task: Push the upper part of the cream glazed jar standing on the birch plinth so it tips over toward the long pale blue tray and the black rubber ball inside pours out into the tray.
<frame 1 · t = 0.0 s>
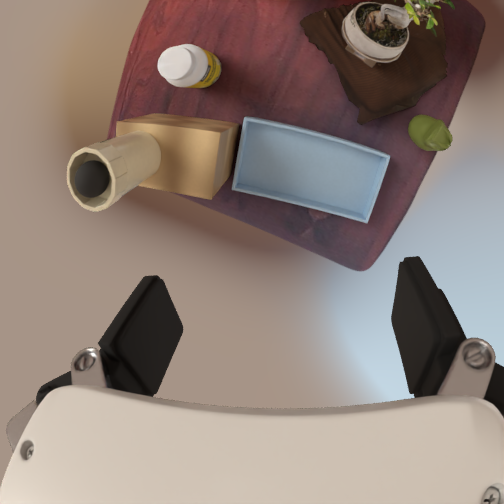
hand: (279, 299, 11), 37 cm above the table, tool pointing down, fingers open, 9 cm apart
potted plant: (382, 48, 31), on the table
pill bottle: (203, 69, 38), on the table
tray: (310, 166, 44), on the table
jar: (138, 155, 34), point 12 cm above the table, touching ball, plinth
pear: (417, 129, 37), on the table
plinth: (192, 142, 44), on the table
ball: (91, 179, 25), point 22 cm above the table, touching jar
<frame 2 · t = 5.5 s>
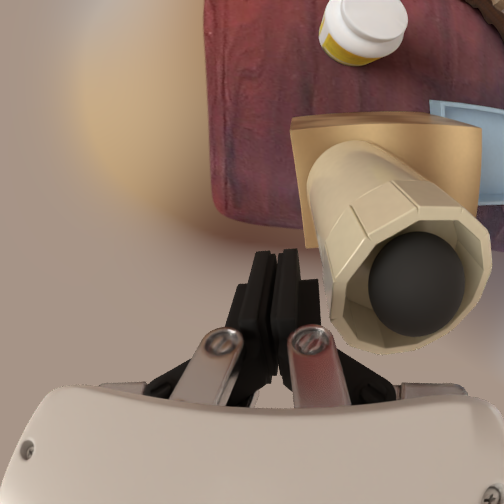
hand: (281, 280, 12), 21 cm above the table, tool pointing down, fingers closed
pill bottle: (348, 40, 22), on the table
tray: (499, 153, 23), on the table
jar: (355, 189, 18), point 12 cm above the table, touching ball, gripper, plinth
plinth: (365, 151, 28), on the table
ball: (417, 284, 9), point 23 cm above the table, touching jar
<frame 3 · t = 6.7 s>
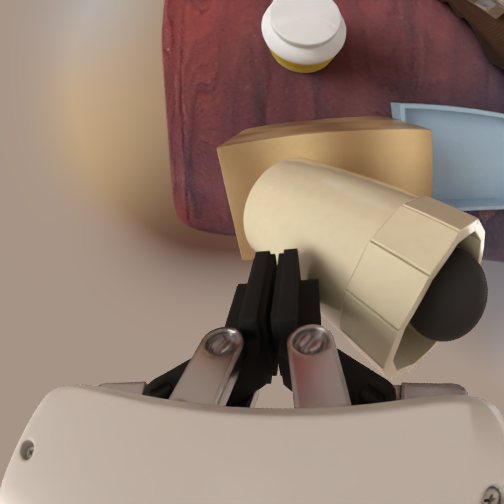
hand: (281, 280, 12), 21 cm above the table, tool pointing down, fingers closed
pill bottle: (302, 46, 23), on the table
tray: (474, 155, 24), on the table
jar: (293, 211, 18), point 14 cm above the table, tilted 34°, touching ball, plinth
plinth: (321, 159, 29), on the table
ball: (445, 294, 10), point 22 cm above the table, tilted 63°, touching jar
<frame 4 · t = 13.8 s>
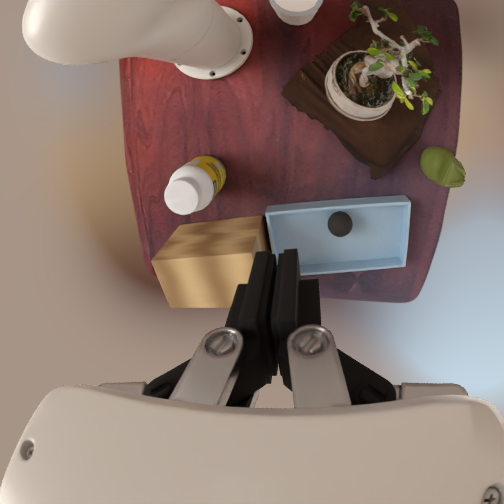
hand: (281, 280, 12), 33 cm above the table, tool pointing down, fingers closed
potted plant: (370, 88, 33), on the table
pill bottle: (208, 173, 44), on the table
tray: (340, 232, 46), on the table
shot glass: (295, 10, 28), on the table
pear: (428, 159, 37), on the table
plinth: (224, 242, 50), on the table
ball: (340, 224, 42), point 2 cm above the table, tilted 67°, touching tray
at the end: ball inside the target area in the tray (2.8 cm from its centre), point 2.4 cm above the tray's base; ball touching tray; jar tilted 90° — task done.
